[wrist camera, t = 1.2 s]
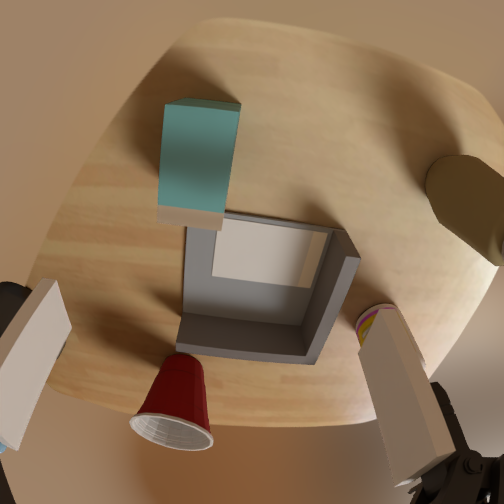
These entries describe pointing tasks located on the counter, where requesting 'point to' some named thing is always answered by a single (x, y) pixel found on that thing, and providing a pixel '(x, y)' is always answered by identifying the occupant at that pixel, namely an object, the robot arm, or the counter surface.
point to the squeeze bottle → (469, 203)
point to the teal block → (196, 162)
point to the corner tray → (264, 289)
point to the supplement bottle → (368, 319)
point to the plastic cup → (176, 407)
